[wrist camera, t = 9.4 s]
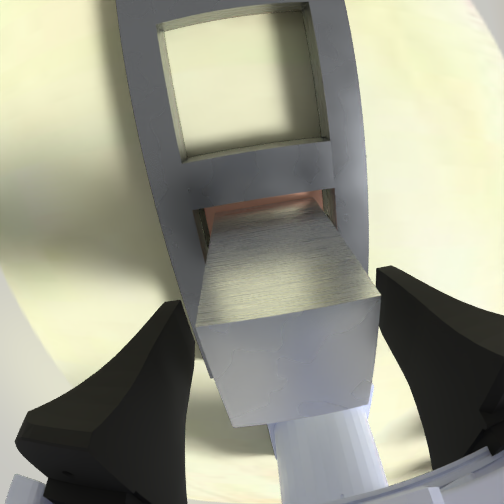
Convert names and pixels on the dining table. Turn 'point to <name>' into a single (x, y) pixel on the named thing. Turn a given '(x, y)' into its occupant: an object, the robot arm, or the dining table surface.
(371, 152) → the dining table surface
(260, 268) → the steel peg
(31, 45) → the dining table surface
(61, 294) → the dining table surface
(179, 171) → the rail
